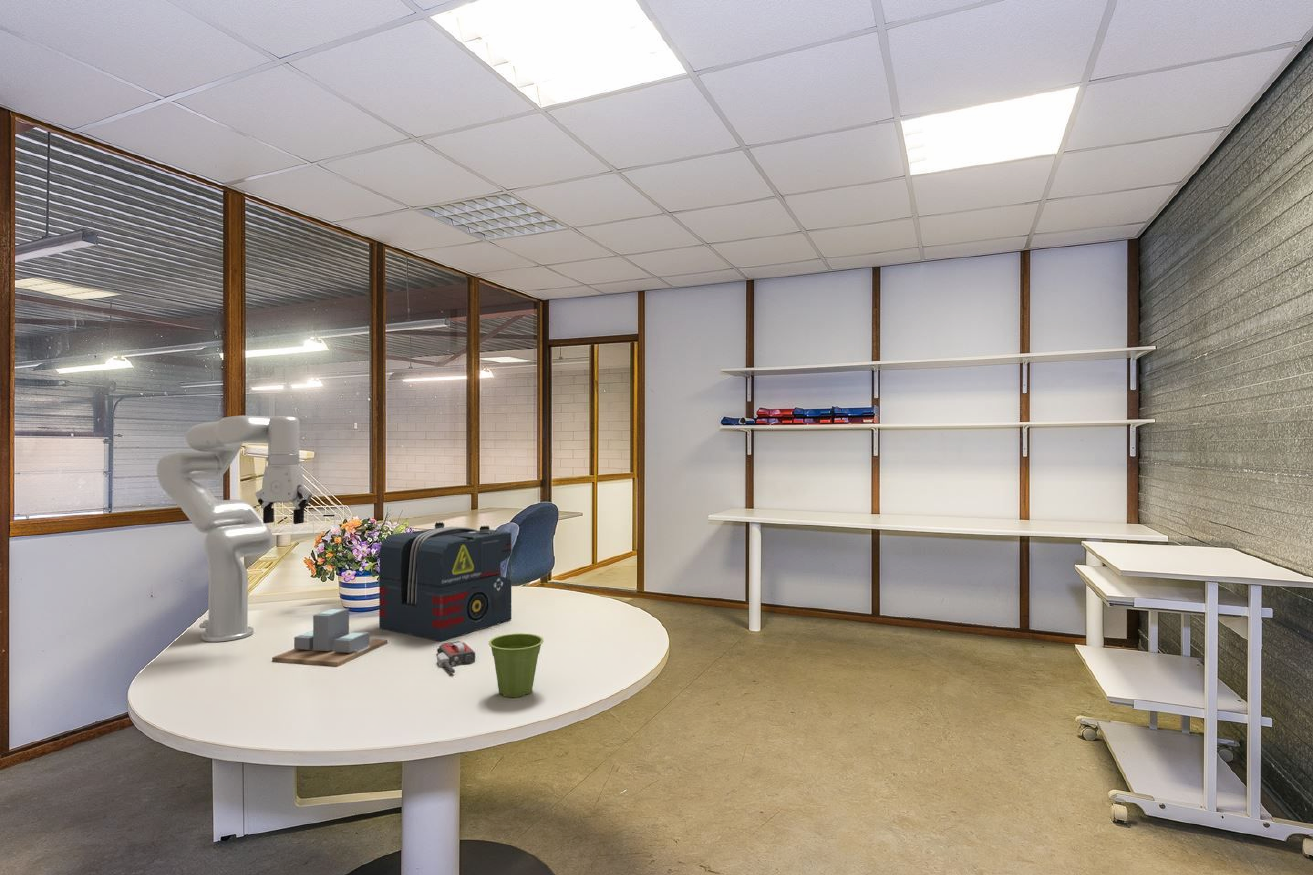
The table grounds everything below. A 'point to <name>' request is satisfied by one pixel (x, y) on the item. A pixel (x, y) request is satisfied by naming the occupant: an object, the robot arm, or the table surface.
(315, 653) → the board
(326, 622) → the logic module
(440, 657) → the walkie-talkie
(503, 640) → the plant pot
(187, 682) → the table surface
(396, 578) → the power unit
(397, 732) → the table surface
